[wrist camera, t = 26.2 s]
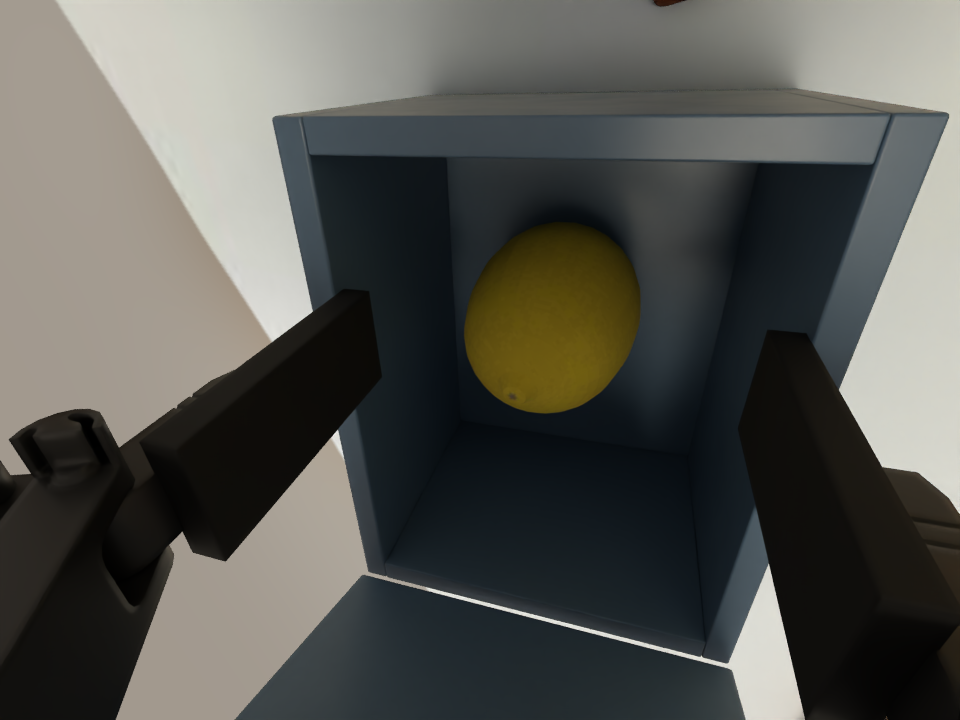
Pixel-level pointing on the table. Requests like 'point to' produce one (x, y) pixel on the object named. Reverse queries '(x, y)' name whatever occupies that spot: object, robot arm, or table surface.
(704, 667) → the lid
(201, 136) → the table surface
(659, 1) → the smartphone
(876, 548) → the robot arm
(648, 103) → the blue-grey hollow box
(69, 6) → the table surface
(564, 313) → the lemon
